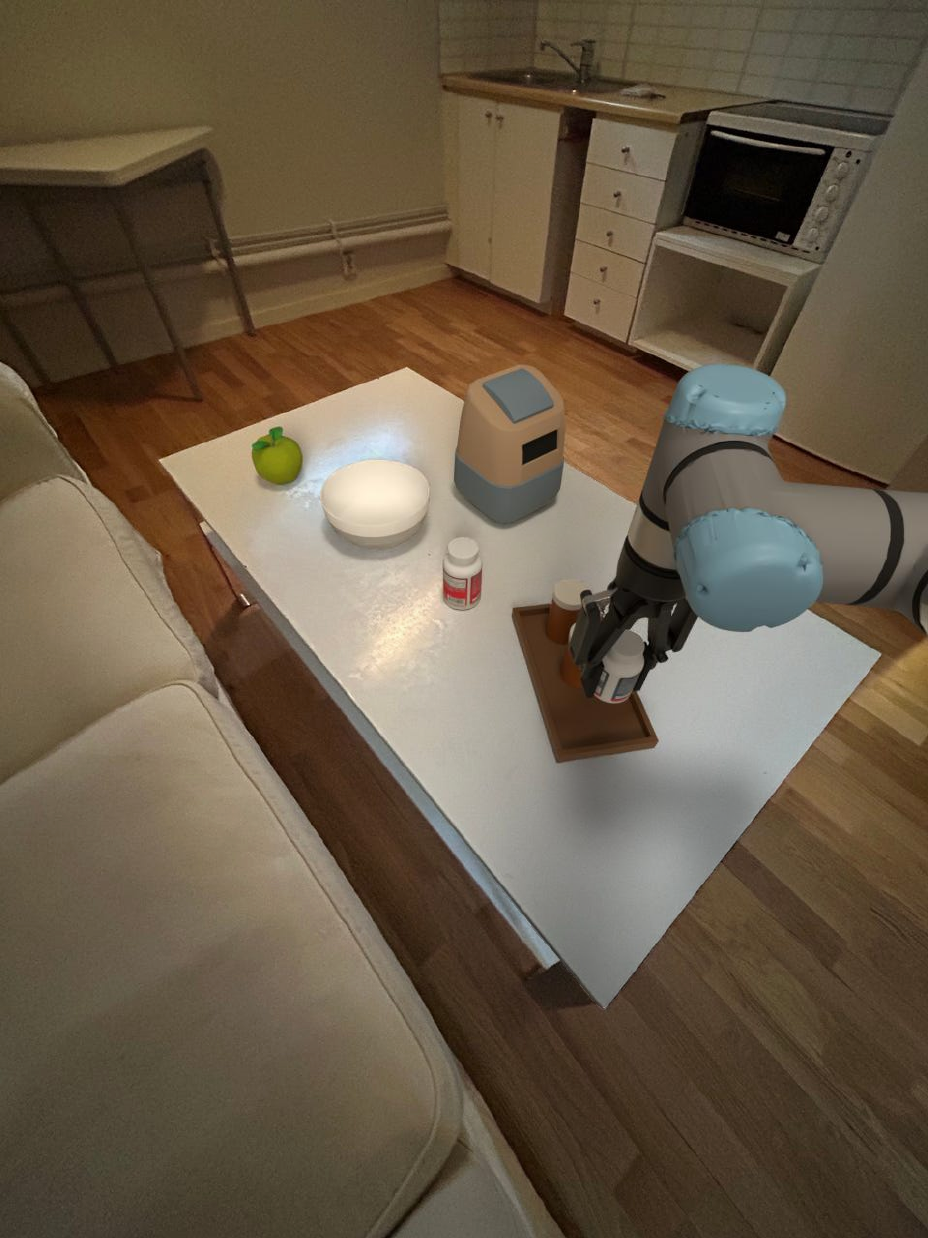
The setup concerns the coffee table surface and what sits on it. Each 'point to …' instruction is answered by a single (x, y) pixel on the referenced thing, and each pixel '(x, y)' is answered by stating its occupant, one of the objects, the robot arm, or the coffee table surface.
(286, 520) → the coffee table surface
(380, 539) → the bowl
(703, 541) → the robot arm
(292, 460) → the fruit
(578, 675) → the amber bottle middle
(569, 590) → the amber bottle far
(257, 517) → the coffee table surface
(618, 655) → the pill bottle
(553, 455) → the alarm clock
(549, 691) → the tray
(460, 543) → the pill bottle
